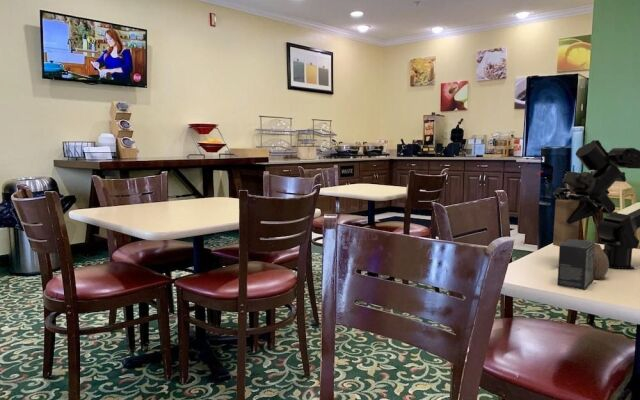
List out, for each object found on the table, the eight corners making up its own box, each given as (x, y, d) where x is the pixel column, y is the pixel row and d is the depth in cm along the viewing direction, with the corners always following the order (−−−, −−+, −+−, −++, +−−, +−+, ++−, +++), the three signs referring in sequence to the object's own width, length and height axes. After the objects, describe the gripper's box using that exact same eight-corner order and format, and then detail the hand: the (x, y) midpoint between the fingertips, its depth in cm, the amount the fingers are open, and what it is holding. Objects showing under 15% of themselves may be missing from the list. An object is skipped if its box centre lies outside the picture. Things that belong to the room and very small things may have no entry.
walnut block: (566, 244, 134) (569, 199, 133) (577, 247, 130) (580, 201, 129) (552, 244, 133) (555, 199, 132) (563, 247, 129) (566, 201, 128)
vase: (573, 273, 127) (575, 241, 126) (600, 274, 126) (602, 242, 125) (584, 280, 120) (586, 246, 119) (612, 281, 119) (615, 247, 119)
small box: (565, 276, 123) (567, 237, 122) (593, 281, 119) (596, 241, 118) (555, 285, 115) (558, 243, 114) (585, 290, 111) (588, 247, 110)
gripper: (560, 160, 139) (524, 198, 138) (609, 162, 121) (568, 205, 120) (582, 187, 141) (547, 223, 140) (633, 192, 123) (593, 234, 122)
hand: (562, 221), depth 131 cm, fingers closed on walnut block, 4 cm apart
